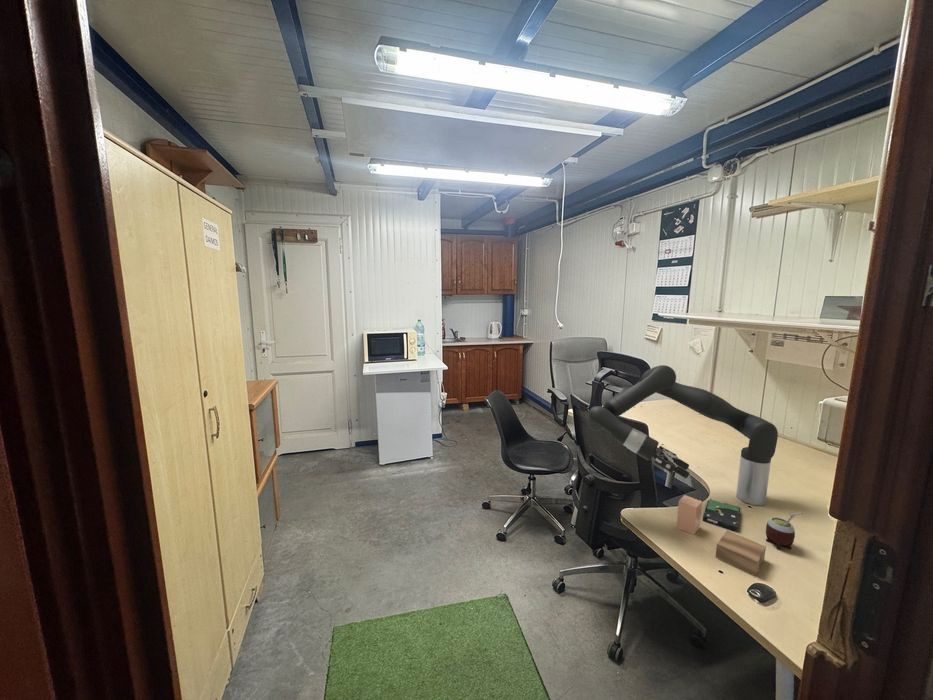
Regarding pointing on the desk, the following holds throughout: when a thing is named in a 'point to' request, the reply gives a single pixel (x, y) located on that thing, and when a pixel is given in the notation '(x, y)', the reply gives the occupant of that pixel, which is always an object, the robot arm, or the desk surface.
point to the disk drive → (722, 515)
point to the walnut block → (741, 552)
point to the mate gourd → (780, 532)
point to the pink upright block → (689, 514)
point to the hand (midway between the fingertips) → (688, 471)
